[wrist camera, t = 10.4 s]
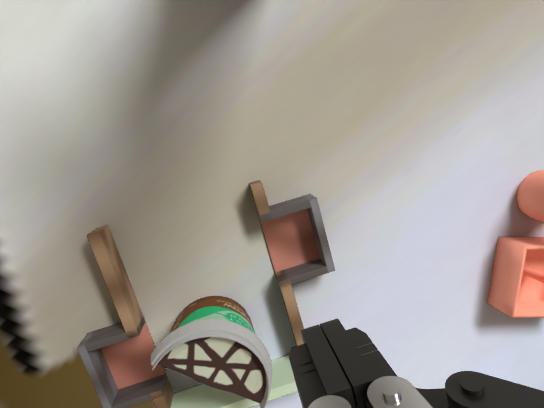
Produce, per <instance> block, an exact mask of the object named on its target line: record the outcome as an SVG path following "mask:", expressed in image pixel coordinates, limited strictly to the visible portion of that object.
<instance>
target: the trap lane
mask: <svg viewBox="0 0 544 408" xmlns="http://www.w3.org/2000/svg"><path fill="white" fill-rule="evenodd" d="M249 185H250V188H251V191H252V195H253V198H254V202H255V205H256V208H257V212H258V215H259V219H260V222H261V225H262V229H263V232H264V236H265V239H266V242H267V246H268V249H269V253H270V256H271V259H272V263H273V266H274V270H275V273H276V277H277V280H278V283H279V287H280V290H281V294H282V297H283V300H284V304H285V307H286V311H287V314H288V317H289V321H290V324H291V328H292V331H293V334H294V338H295V341H296V345H297V346H298V345H302V344H304V343H303V339H302V335H301V330H303V329H304V328H303V324H302V321H301V317H300V314H299V310H298V307H297V303H296V300H295V296H294V293H293V289H292V286H291V285H292V284H295V283H298V282H301V281H304V280H307V279H310V278H313V277H317V276H320V275H323V274H326V273H329V272H332V271H335V268H334V264H333V260H332V256H331V252H330V248H329V244H328V240H327V236H326V232H325V229H324V225H323V221H322V217H321V213H320V209H319V205H318V201H317V198H316V197H314V196H313V195H311V194H308V195H305V196H302V197H298V198H295V199H292V200H288V201H285V202H282V203H279V204H275V205H272V206H269V205H268V202H267V198H266V195H265V191H264V188H263V184H262V183H261V181H260V180H258V181H255V182H252V183H249ZM87 238H88V240H89V243H90V245H91V248H92V250H93V253H94V255H95V258H96V260H97V263H98V265H99V268H100V270H101V272H102V275H103V277H104V280H105V282H106V285H107V287H108V290H109V292H110V295H111V297H112V300H113V302H114V305H115V307H116V310H117V312H118V315H119V317H120V320H121V323H118V324H115V325H112V326H109V327H105V328H102V329H99V330H96V331H93V332H90V333H87V335H86V336H85V338H84V339H83V340H82V342H81V343H80V345H79V346H78V347H77V349H78V352H79V354H80V356H81V358H82V361H83V363H84V365H85V367H86V370H87V372H88V374H89V377H90V379H91V381H92V383H93V386H94V388H95V390H96V392H97V395H98V397H99V399H100V401H101V404H102V406H103V408H129V407H132V406H135V405H138V404H141V403H144V402H147V401H150V400H153V401H154V404H155V406H156V408H250V407H253V406H255V405H258V404H260V403H257V402H255V401H252V400H250V399H247V398H244V397H242V396H239V395H237V394H234V393H231V392H227V391H223V390H219V389H216V388H213V387H210V386H207V385H205V384H201V385H198V386H195V387H192V388H189V389H186V390H183V391H180V392H177V393H174V394H173V392H172V389H171V387H170V384H169V382H168V379H167V376H166V374H165V371H164V369H163V366H161V365H159V364H157V365H156V366H155V368H154V370H152V368H153V365H151V354H152V352H153V351H154V349H155V345H154V343H153V340H152V338H151V335H150V333H149V330H148V327H147V325H146V322H145V320H144V317H143V314H142V312H141V309H140V307H139V304H138V302H137V299H136V296H135V294H134V291H133V289H132V286H131V284H130V281H129V278H128V276H127V273H126V271H125V268H124V266H123V263H122V260H121V258H120V255H119V253H118V250H117V247H116V245H115V242H114V240H113V237H112V235H111V232H110V229H109V227H108V225H106V226H103V227H99V228H96V229H95V230H94V231H92V232H91V233H89V234H88V235H87ZM289 355H290V354H289ZM289 355H286V356H284V357H281V358H278V359H275V360H272V361H271V364H272V383H271V391H270V395H269V399H268V401H270V400H273V399H276V398H278V397H281V396H284V395H287V394H290V393H293V392H296V391H298V390H297V386H296V382H295V379H294V375H293V371H292V368H291V364H290V360H289Z"/></svg>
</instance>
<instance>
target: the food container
mask: <svg viewBox="0 0 544 408" xmlns="http://www.w3.org/2000/svg"><path fill="white" fill-rule="evenodd" d="M157 364H159V365H161V366H163V367H166V368H170V369H173V370H175V371H178V372H180V373H183V374H185V375H187V376H189V377H191V378H193V379H195V380H197V381H199V382H201V383H203V384H205V385H207V386H210V387H213V388H216V389H219V390H223V391H227V392H231V393H234V394H237V395H239V396H242V397H244V398H247V399H250V400H252V401H255V402H257V403H260V406H261V408H265V406H266V404H267V402H268V399H269V395H270V391H271V383H272V364H271V360H270V356H269V354H268V351H267V349H266V347H265V346H264V344H263V343H262V341H261V340H260V339H259V338H258V337H257V336H256V335H255V332H254V329H253V326H252V323H251V320H250V317H249V316H248V314H247V312H246V311H245V309H244V308H243V307H242V306H241V305H240V304H239V303H237V302H236V301H234V300H232V299H230V298H227V297H222V296H209V297H204V298H201V299H198V300H196V301H194V302H192V303H191V304H189V305H188V306H187V307H186V308H185V309H184V310H183V311H182V312H181V313H180V314H179V316H178V318H177V319H176V321H175V323H174V325H173V327H172V329H171V331H170V333H169V334H168V335H167V336H166V337H165V338H164V339H162V341H161V342H160V343H159V344H158V345H157V346H156V348H155V349H154V351H153V352H152V354H151V365H153V368H152V370H154V368H155V366H156V365H157Z"/></svg>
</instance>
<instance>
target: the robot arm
mask: <svg viewBox="0 0 544 408" xmlns="http://www.w3.org/2000/svg"><path fill="white" fill-rule="evenodd" d="M301 335H302V339H303V343H304V344H302V345H298V346H295V347H292V348H291V352H290V355H289V360H290V364H291V368H292V371H293V375H294V379H295V382H296V386H297V390H298V393H299V397H300V400H301V403H302V407H303V408H544V391H541V390H538V389H534V388H531V387H527V386H524V385H520V384H517V383H513V382H510V381H506V380H503V379H499V378H496V377H492V376H489V375H485V374H482V373H478V372H473V371H461V372H457V373H454V374H452V375H451V376H450V377H449V378H448V379H447V380H446V383H445V388H444V389H419V388H415V387H414V386H413V385H412V384H411V383H410V382H409V381H407V380H405V379H403V378H401V377H397V375H396V374H395V372H394V371H393V370H392V368H391V367H390V366H389V364H388V363H387V361H386V360H385V359H384V357H383V356H382V355H381V353H380V352H379V351H378V350H377V348H376V346H375V345H374V344H373V343H372V341H371V340H370V338H369V337H368V335H367V334H366V333H364V332H363V331H361V330H359V329H357V328H352V329H349V330H345V329H344V327H343V326H342V324H341V323H340V321H339V320H338V319H335V320H332V321H328V322H325V323H322V324H320V326H319V325H316V326H313V327H309V328H306V329H303V330H301Z"/></svg>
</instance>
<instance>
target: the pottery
mask: <svg viewBox="0 0 544 408" xmlns="http://www.w3.org/2000/svg"><path fill="white" fill-rule="evenodd" d="M517 202H518V206H519V208H520V209H521V211H522V212H523V213H524V214H526V215H528V216H529V217H531V218H533V219H535V220H537V221H541V222H544V170H541V171H536V172H533V173H531V174H529V175H528V176H527V177H526V178H525V179H524V180H523V181H522V183H521V184H520V186H519V189H518V193H517ZM488 304H489V305H491V306H493V307H494V308H496V309H498V310H499V311H501V312H502V313H504V314H506V315H507V316H509V317H511V318H543V317H544V237H498V242H497V248H496V254H495V260H494V266H493V273H492V279H491V285H490V291H489V297H488Z"/></svg>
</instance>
